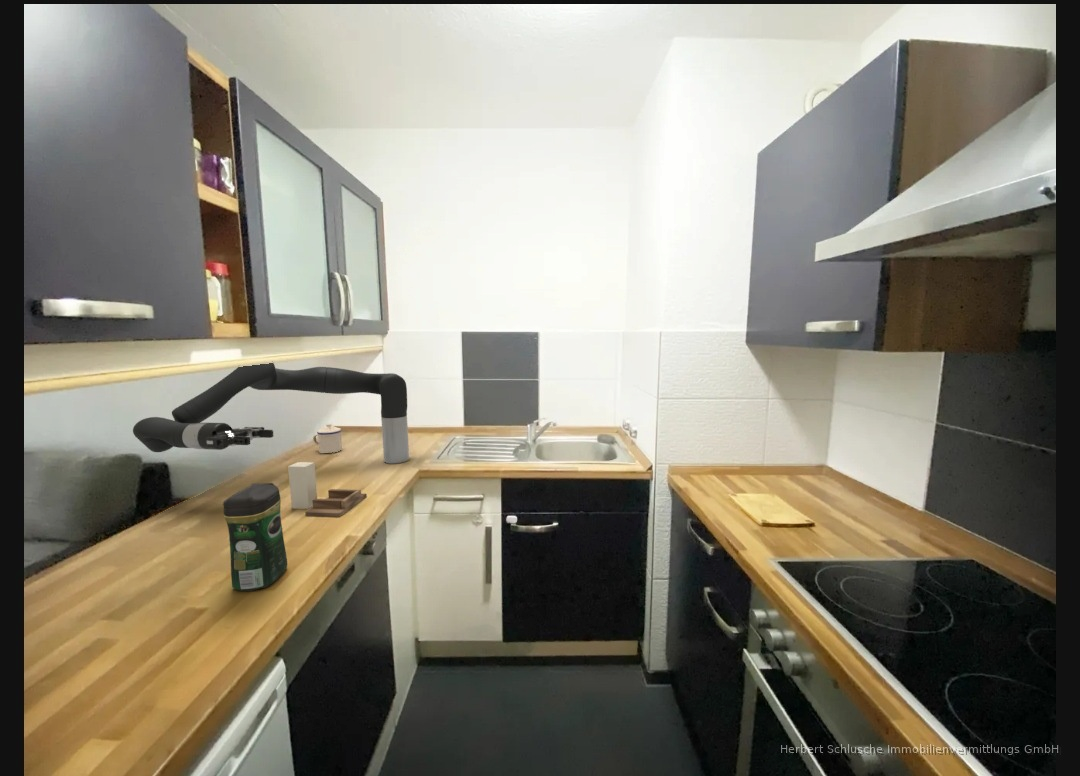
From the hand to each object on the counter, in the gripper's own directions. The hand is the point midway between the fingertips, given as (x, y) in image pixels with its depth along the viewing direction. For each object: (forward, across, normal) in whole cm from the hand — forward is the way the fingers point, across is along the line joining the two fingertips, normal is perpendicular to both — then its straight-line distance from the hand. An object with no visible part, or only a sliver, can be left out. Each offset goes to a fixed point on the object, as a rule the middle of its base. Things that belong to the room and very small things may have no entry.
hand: (261, 437), depth 118 cm
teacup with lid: (-17, +55, +20) cm, 61 cm away
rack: (+21, +1, +19) cm, 29 cm away
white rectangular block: (+11, 0, +20) cm, 23 cm away
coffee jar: (+26, -35, +20) cm, 48 cm away
